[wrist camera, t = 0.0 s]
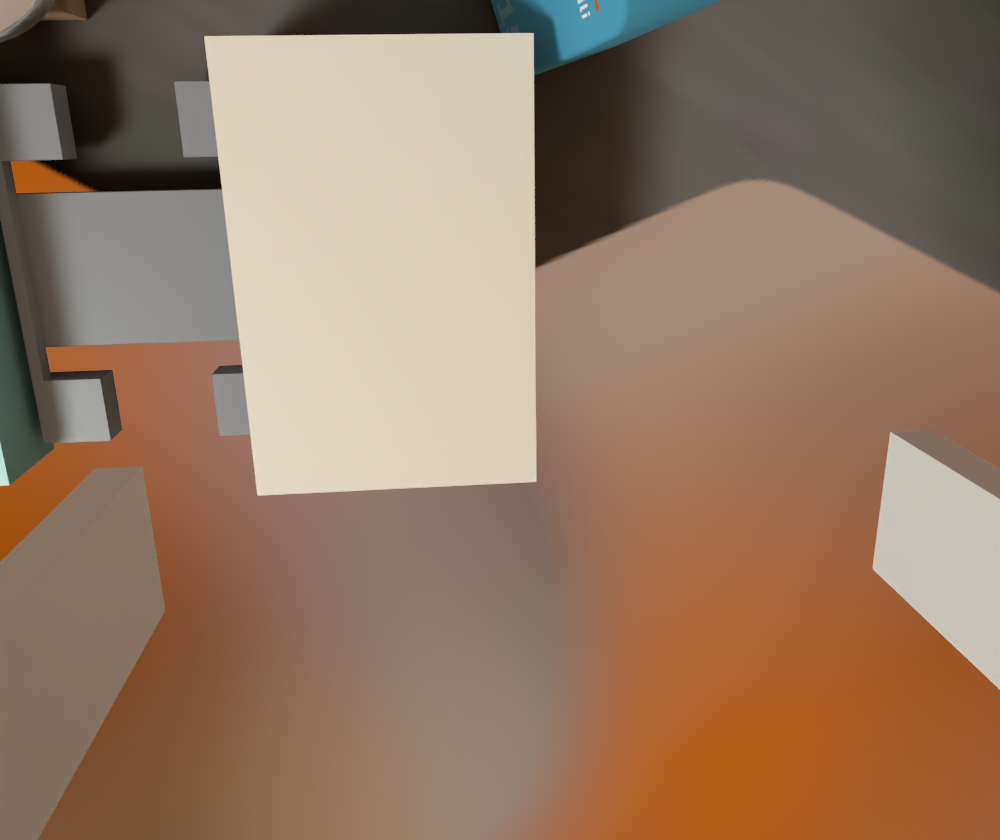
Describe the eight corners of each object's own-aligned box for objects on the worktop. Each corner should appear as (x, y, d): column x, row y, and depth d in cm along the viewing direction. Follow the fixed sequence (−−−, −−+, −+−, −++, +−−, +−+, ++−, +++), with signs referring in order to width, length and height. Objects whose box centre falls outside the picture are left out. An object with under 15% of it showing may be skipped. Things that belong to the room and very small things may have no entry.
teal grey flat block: (33, 449, 42) (-15, 486, 37) (-45, 63, 36) (-111, 52, 32) (292, 437, 43) (276, 472, 38) (255, 59, 37) (231, 48, 33)
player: (284, 439, 43) (257, 495, 36) (244, 55, 38) (204, 36, 31) (518, 428, 44) (536, 481, 37) (514, 52, 39) (533, 33, 32)
